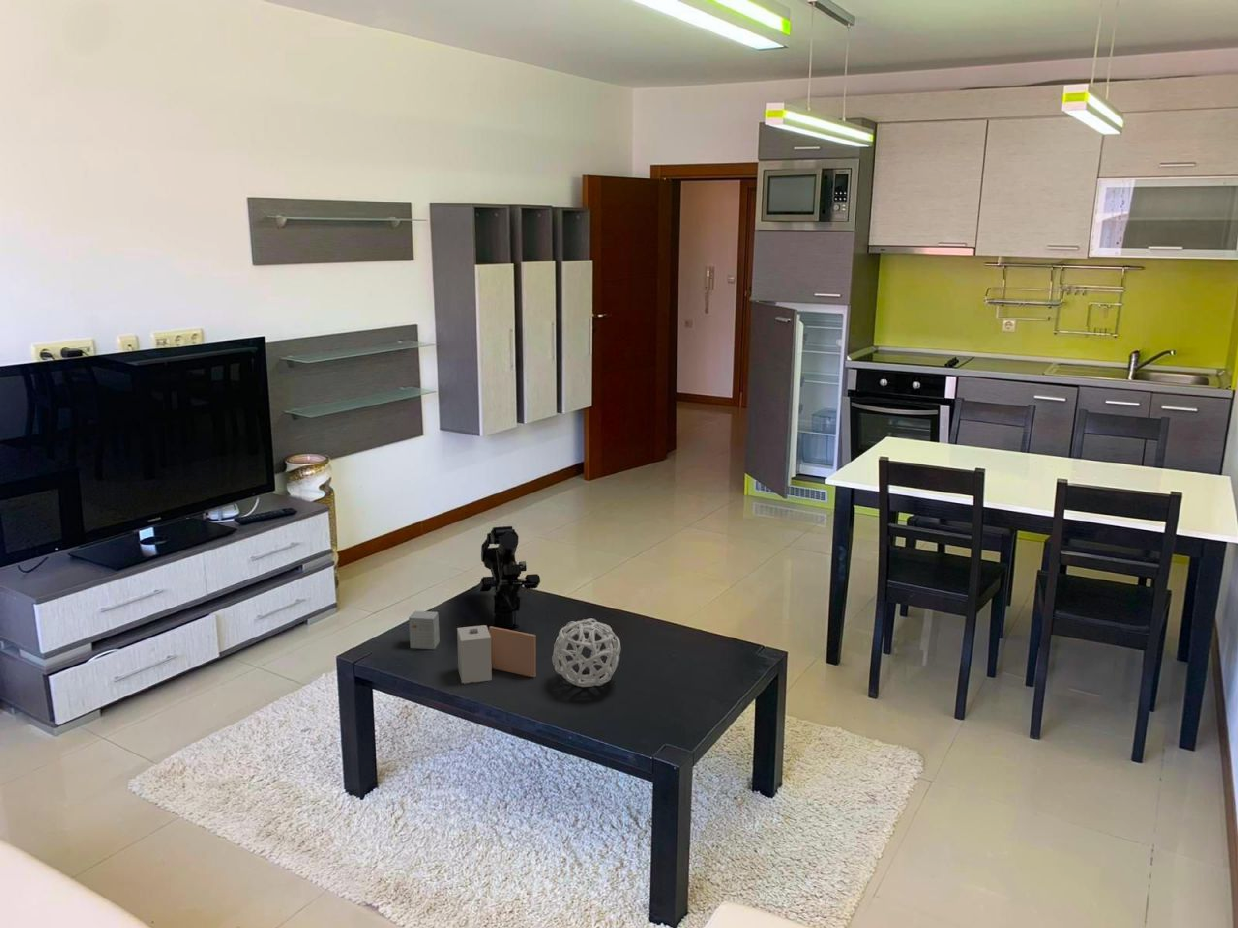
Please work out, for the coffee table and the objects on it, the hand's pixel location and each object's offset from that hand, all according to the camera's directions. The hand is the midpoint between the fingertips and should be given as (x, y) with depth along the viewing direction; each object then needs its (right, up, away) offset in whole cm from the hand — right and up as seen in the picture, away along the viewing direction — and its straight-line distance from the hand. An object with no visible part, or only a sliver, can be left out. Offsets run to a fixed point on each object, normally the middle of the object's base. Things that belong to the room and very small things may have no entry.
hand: (512, 608), depth 289 cm
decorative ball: (+24, -19, -21) cm, 37 cm away
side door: (+2, -17, -15) cm, 22 cm away
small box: (-28, -12, +2) cm, 31 cm away
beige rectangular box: (-9, -17, -16) cm, 25 cm away
